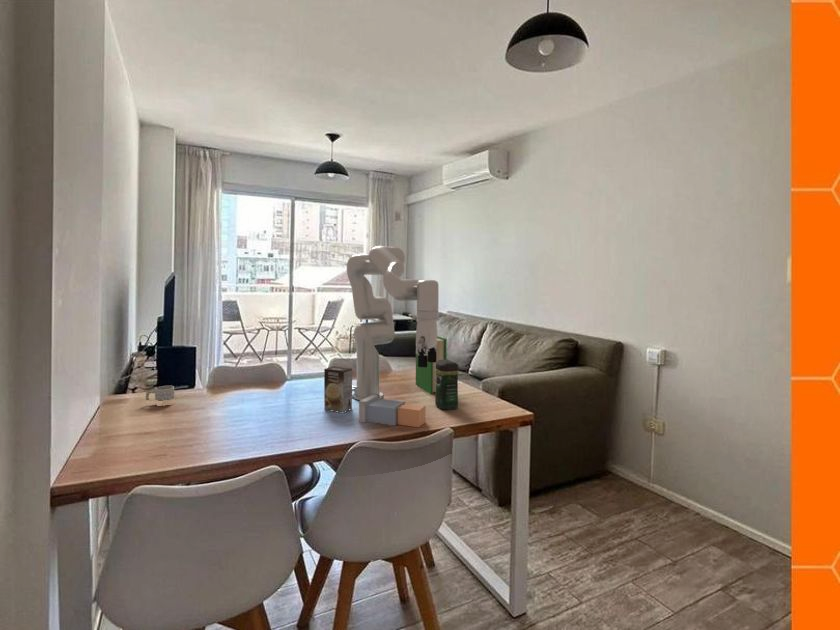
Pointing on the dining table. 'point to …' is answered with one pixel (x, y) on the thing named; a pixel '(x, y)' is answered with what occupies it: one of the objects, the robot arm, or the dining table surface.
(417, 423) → the peach rectangular block
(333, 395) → the coffee box
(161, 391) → the mug
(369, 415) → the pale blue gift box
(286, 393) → the dining table surface
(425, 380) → the hardback book
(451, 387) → the coffee jar
